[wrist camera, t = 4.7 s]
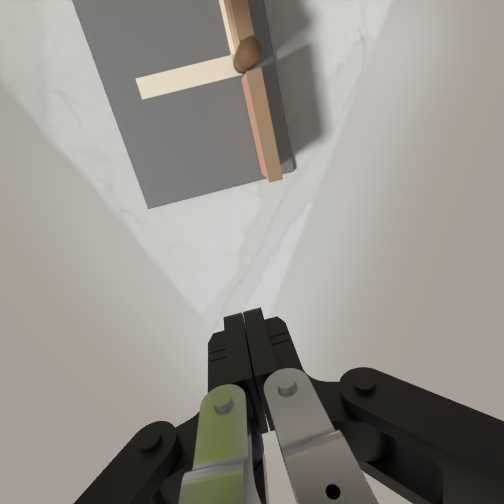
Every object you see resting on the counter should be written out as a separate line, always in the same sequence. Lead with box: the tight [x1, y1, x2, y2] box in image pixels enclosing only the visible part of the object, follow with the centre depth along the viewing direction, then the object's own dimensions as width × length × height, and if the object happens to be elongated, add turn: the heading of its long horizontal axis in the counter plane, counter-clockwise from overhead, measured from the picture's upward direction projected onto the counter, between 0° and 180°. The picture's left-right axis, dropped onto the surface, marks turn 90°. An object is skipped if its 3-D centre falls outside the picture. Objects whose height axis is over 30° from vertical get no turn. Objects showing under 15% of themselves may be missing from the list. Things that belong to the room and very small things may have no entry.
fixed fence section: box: [224, 0, 262, 74], centre depth 27 cm, size 8×2×6 cm, turn 13°
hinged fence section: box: [241, 68, 283, 182], centre depth 30 cm, size 9×1×6 cm, turn 13°
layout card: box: [72, 0, 294, 209], centre depth 31 cm, size 21×16×1 cm
